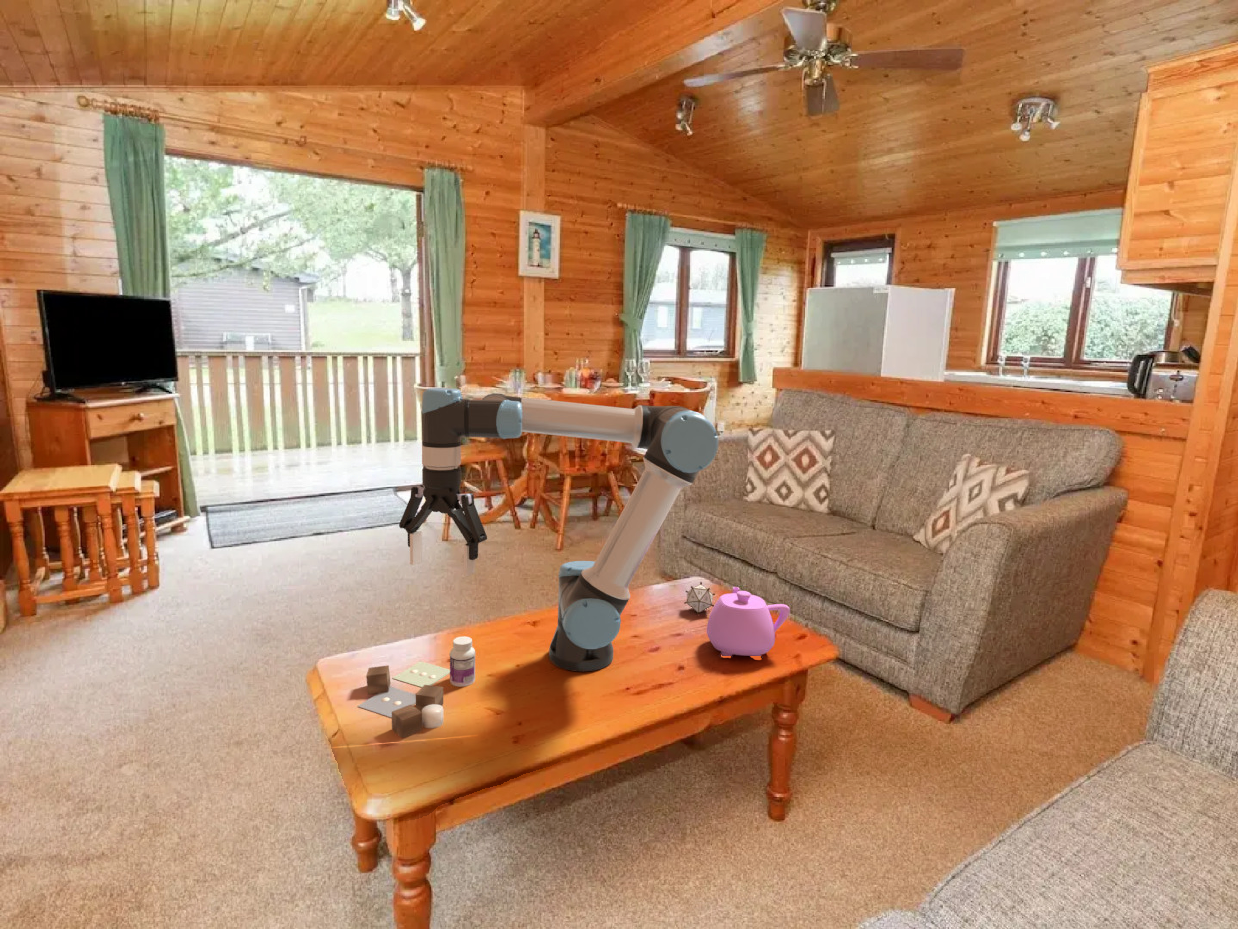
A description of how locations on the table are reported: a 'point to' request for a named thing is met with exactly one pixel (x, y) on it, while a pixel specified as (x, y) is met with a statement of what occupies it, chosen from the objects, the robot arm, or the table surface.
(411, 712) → the cube
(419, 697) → the cube
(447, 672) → the pad three
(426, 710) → the white cap
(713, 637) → the teapot
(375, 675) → the cube
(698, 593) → the game die
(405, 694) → the pad two
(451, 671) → the pill bottle
